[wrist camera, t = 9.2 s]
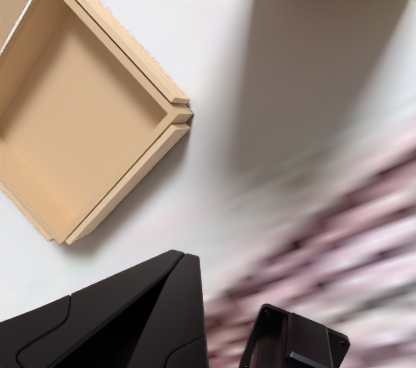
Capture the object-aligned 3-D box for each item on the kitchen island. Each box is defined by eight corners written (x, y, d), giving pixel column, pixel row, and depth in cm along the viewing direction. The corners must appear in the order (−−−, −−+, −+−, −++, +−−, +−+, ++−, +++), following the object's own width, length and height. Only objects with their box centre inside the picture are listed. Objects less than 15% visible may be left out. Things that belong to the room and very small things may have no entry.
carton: (204, 114, 21) (190, 113, 18) (85, 239, 26) (59, 254, 23) (84, -16, 21) (51, -37, 18) (-10, 133, 27) (-47, 135, 24)
